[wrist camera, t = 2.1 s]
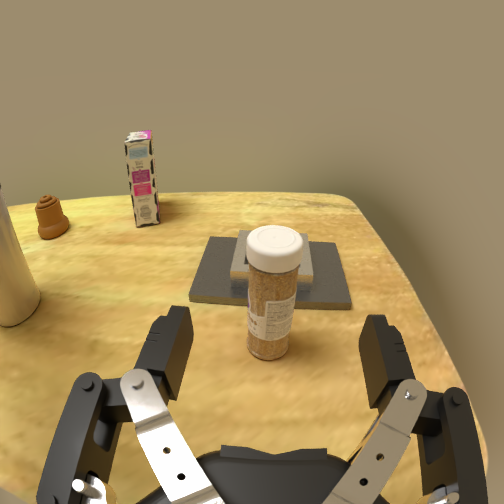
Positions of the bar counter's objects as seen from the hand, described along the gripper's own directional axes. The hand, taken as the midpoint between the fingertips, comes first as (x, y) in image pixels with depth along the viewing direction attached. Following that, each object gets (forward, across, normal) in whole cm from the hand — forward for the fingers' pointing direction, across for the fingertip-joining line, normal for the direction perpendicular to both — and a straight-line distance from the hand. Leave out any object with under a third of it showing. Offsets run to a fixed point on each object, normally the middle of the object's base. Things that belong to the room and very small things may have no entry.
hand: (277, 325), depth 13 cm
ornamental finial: (+34, +45, +15) cm, 58 cm away
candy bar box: (+42, +25, +15) cm, 51 cm away
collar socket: (+24, 0, +15) cm, 29 cm away
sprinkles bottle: (+12, 0, +16) cm, 19 cm away
